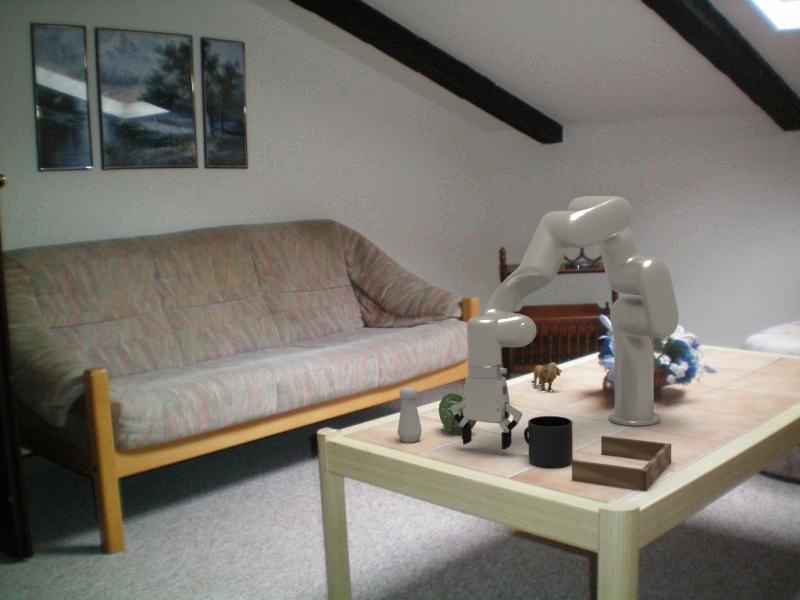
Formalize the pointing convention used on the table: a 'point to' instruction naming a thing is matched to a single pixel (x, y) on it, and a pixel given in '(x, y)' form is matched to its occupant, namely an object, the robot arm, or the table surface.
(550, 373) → the lion figurine
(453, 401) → the decorative artifact
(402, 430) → the salt shaker
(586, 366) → the table surface
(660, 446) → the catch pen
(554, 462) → the mug
